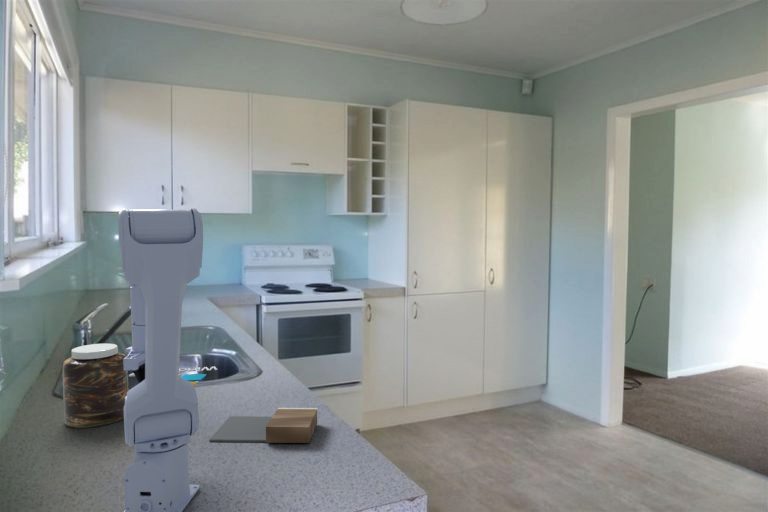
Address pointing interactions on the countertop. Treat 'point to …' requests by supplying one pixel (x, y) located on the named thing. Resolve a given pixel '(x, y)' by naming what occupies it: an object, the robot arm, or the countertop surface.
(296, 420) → the wooden block
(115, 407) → the jar
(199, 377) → the logo
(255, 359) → the countertop surface
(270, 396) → the countertop surface
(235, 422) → the mat
